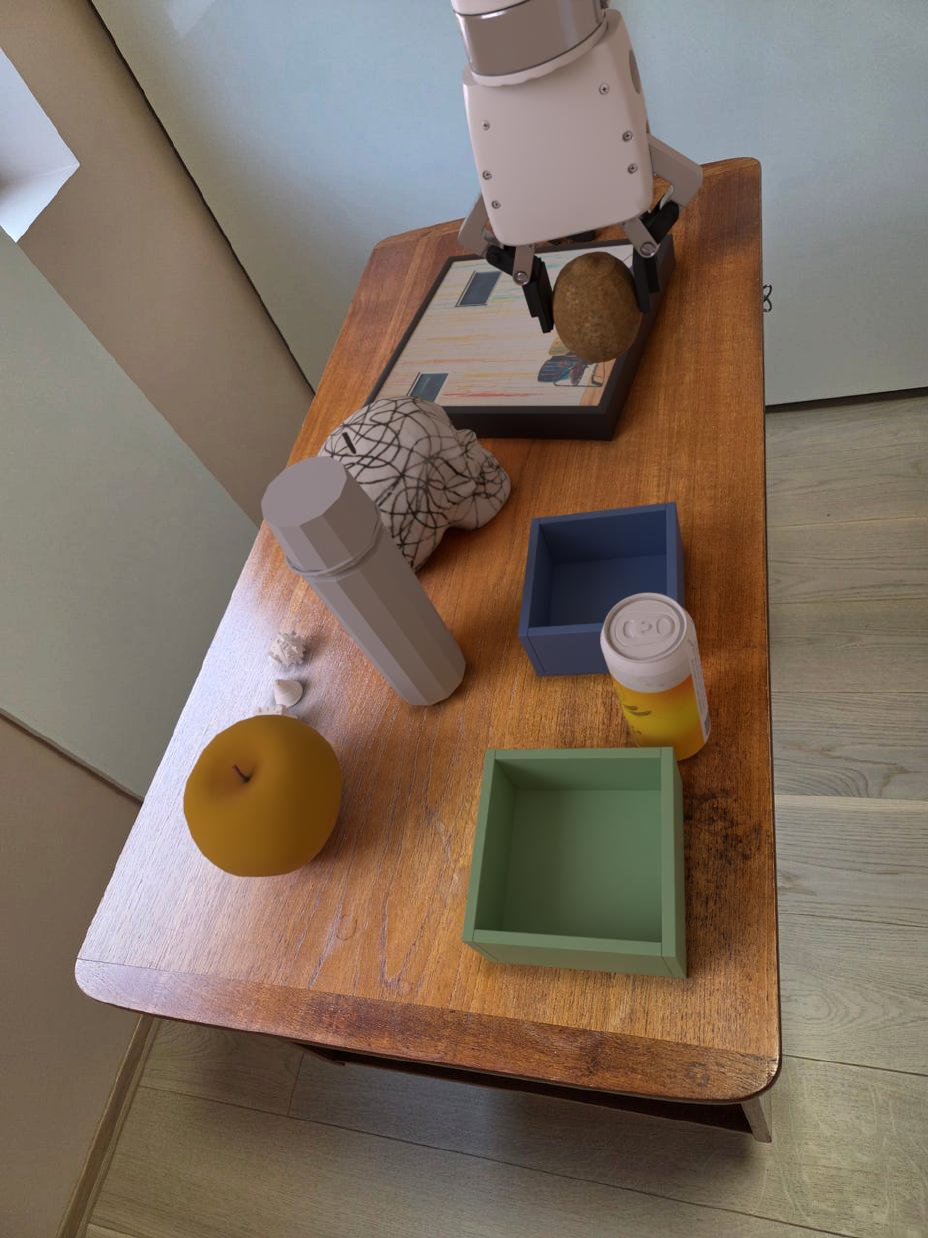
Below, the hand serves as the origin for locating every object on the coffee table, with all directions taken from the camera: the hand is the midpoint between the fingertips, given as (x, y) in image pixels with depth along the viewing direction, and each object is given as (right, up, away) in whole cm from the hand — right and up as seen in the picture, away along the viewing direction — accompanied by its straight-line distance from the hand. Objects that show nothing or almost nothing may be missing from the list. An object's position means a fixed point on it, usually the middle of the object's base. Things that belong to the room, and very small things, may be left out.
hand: (597, 309), depth 55 cm
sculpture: (-13, -13, +28) cm, 33 cm away
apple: (-23, -40, +13) cm, 48 cm away
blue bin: (+4, -21, +15) cm, 26 cm away
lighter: (+5, +30, +51) cm, 59 cm away
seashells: (-26, -29, +21) cm, 45 cm away
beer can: (+7, -31, +7) cm, 32 cm away
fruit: (+1, -2, +3) cm, 4 cm away
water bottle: (-13, -27, +18) cm, 34 cm away
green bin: (0, -40, +2) cm, 40 cm away
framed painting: (-2, +11, +40) cm, 42 cm away
